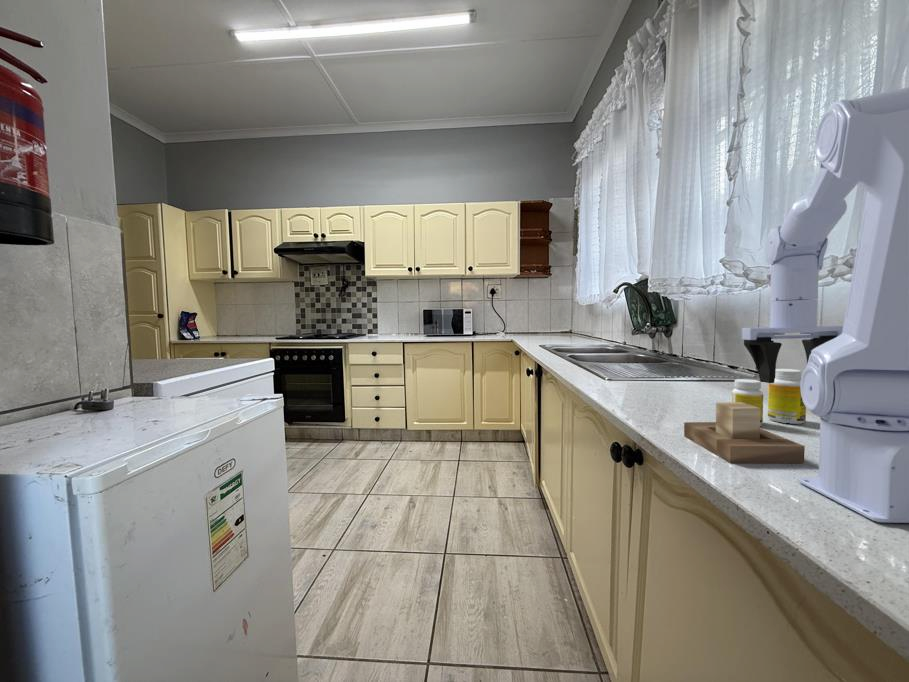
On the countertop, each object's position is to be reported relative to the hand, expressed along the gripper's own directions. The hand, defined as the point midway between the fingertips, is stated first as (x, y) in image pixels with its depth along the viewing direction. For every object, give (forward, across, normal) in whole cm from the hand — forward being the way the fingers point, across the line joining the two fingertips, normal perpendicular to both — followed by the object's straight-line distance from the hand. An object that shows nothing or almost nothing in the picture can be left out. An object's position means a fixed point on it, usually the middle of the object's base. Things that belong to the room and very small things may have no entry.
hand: (791, 381), depth 60 cm
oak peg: (+10, +11, +4) cm, 15 cm away
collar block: (+10, +11, +4) cm, 15 cm away
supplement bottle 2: (+10, -8, -11) cm, 17 cm away
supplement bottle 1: (+10, 0, -10) cm, 14 cm away
